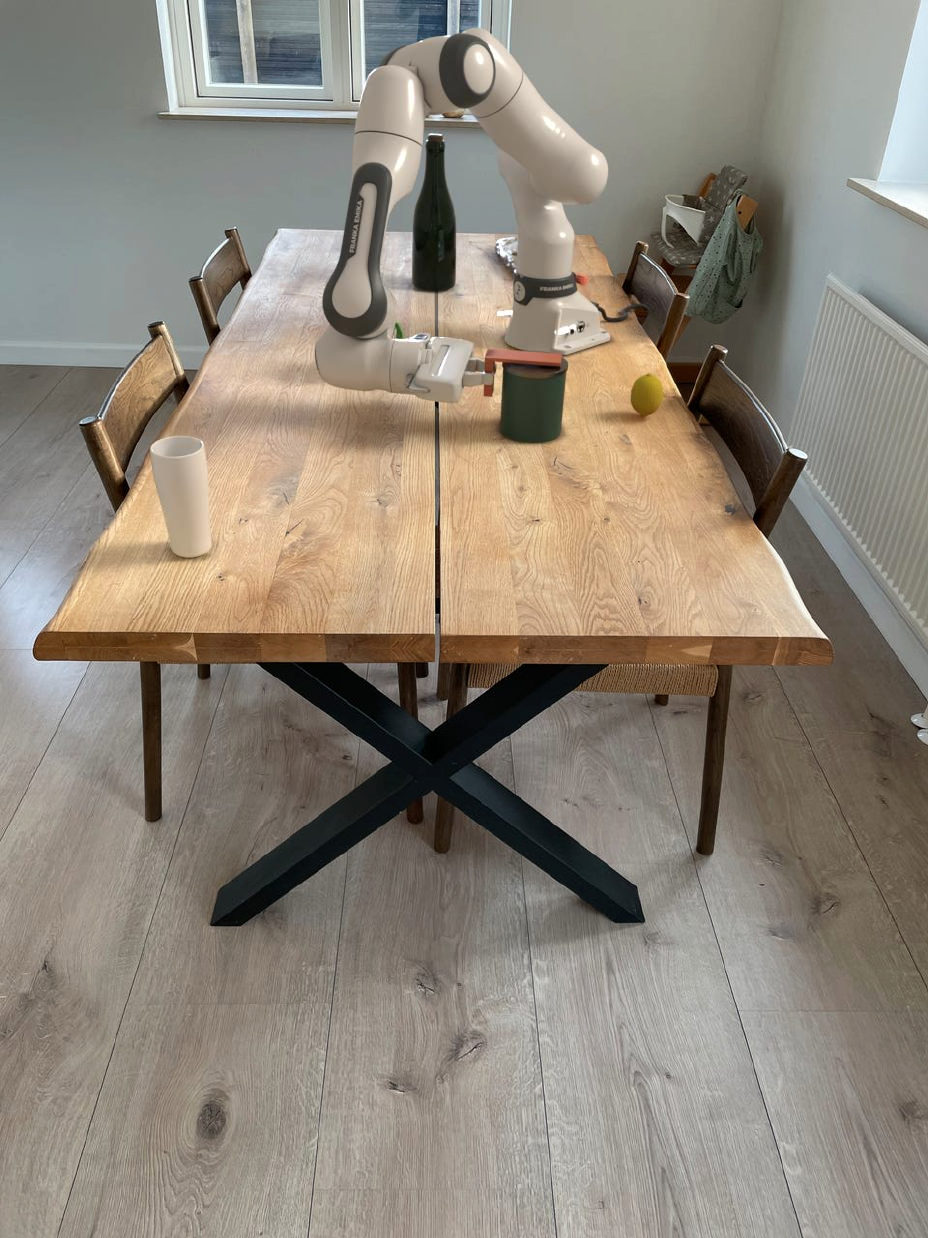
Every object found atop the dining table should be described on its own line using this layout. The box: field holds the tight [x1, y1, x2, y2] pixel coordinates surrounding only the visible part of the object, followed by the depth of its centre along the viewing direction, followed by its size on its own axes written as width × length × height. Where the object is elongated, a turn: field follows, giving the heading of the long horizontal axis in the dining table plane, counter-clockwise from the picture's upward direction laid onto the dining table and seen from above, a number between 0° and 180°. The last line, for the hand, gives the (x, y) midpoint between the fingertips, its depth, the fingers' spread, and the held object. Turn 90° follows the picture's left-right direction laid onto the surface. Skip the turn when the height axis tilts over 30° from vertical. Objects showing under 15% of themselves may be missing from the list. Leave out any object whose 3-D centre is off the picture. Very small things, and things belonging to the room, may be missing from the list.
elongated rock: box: [495, 236, 518, 277], centre depth 254 cm, size 35×5×10 cm
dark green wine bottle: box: [411, 133, 457, 292], centre depth 228 cm, size 10×10×33 cm
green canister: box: [499, 351, 569, 444], centre depth 166 cm, size 11×11×12 cm
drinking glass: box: [149, 435, 213, 559], centre depth 129 cm, size 7×7×15 cm
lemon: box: [630, 372, 664, 418], centre depth 173 cm, size 6×6×8 cm
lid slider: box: [483, 348, 563, 398], centre depth 164 cm, size 12×4×7 cm, turn 82°
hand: (494, 373), depth 164 cm, fingers closed on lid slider, 3 cm apart
